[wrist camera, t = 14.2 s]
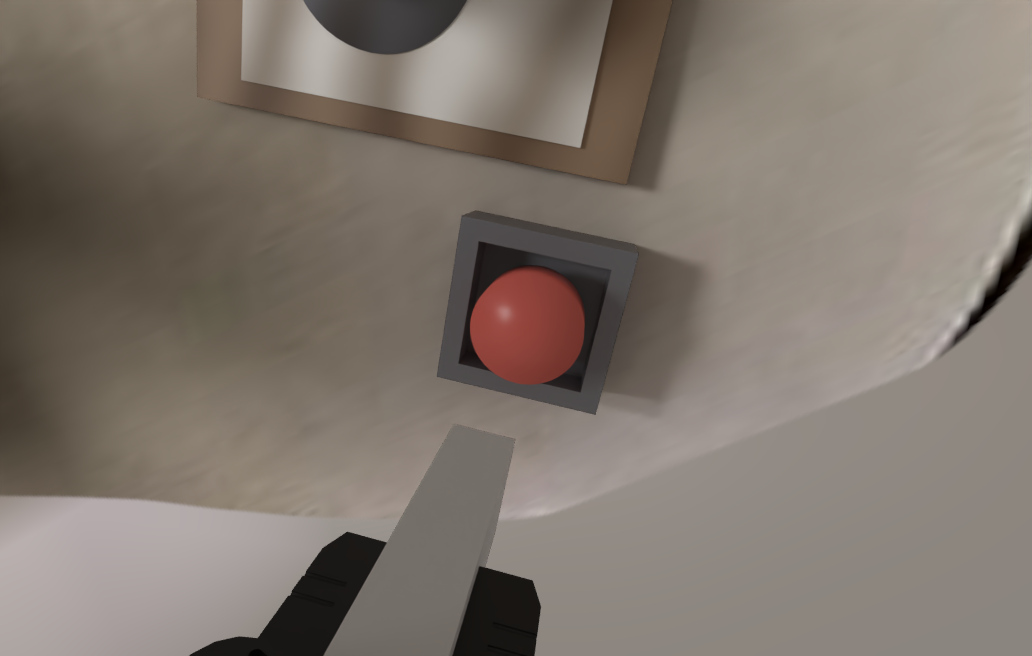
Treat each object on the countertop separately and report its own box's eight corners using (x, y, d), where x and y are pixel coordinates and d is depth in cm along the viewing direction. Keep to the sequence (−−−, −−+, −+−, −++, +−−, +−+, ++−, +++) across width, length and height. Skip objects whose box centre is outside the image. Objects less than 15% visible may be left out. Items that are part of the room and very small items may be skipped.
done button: (473, 353, 27) (462, 370, 25) (490, 254, 25) (480, 263, 23) (572, 376, 27) (569, 395, 24) (596, 277, 25) (596, 289, 23)
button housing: (451, 356, 30) (436, 376, 27) (475, 210, 27) (461, 215, 25) (595, 390, 29) (595, 414, 27) (634, 244, 27) (638, 253, 24)
